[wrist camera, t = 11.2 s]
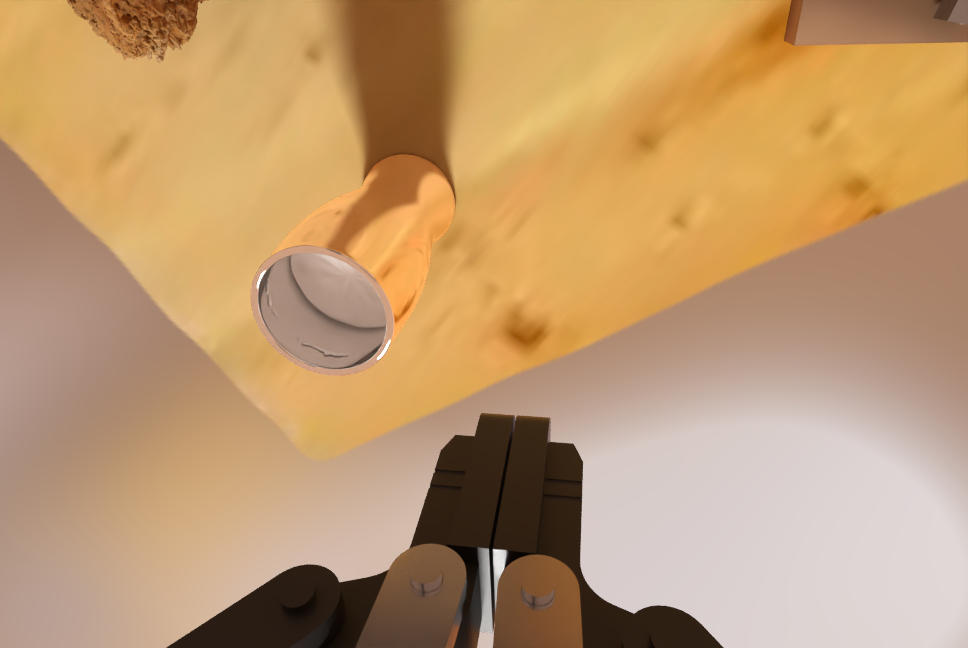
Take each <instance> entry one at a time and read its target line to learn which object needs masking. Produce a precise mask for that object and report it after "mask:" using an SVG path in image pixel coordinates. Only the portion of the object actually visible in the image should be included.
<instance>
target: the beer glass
mask: <svg viewBox="0 0 968 648" xmlns="http://www.w3.org/2000/svg"><path fill="white" fill-rule="evenodd" d="M454 212H455V199H454V193H453V190H452V187H451V185H450V183H449V181H448V179H447V178H446V176H445V175H444V174H443V173H442V171H441V170H440V169H439V168H437V167H436V166H435V165H434V164H432V163H431V162H429V161H428V160H426V159H424V158H421V157H418V156H414V155H408V154H400V155H394V156H390V157H387V158H385V159H383V160H381V161H380V162H378V163H377V164H376V165H375V166H374V167H373V168H372V169H371V170H370V171H369V173H368V174H367V176H366V178H365V180H364V182H363V185H362V187H361V188H359V189H357V190H354V191H351V192H349V193H346V194H344V195H342V196H339V197H337V198H335V199H333V200H331V201H329V202H327V203H326V204H324V205H322V206H320V207H319V208H317V209H316V210H315V211H313V212H312V213H311V214H310V215H308V216H307V217H306V218H304V219H303V220H302V221H301V222H300V223H299V224H298V225H297V226H296V227H295V228H294V229H293V230H292V231H291V232H290V233H289V234H288V235H287V236H286V237H285V239H284V240H283V241H282V242H281V243H280V244H279V246H278V247H277V248H276V249H275V251H274V252H273V253H272V254H271V256H270V257H269V258H268V259H266V260H265V261H264V262H263V264H262V265H261V266H260V267H259V269H258V271H257V272H256V274H255V277H254V279H253V283H252V287H251V305H252V310H253V314H254V317H255V320H256V322H257V324H258V326H259V328H260V330H261V332H262V333H263V335H264V336H265V338H266V339H267V340H268V341H269V343H270V344H271V345H272V346H273V347H274V348H275V349H276V350H277V351H278V352H279V353H281V354H282V355H283V356H284V357H286V358H287V359H288V360H290V361H292V362H293V363H295V364H297V365H299V366H301V367H303V368H305V369H308V370H310V371H313V372H317V373H321V374H326V375H349V374H354V373H358V372H361V371H364V370H366V369H368V368H369V367H371V366H373V365H374V364H375V363H377V362H378V361H379V360H380V359H381V358H382V357H383V356H384V354H385V353H386V351H387V350H388V348H389V346H390V344H391V343H392V341H393V340H394V339H395V337H396V336H397V335H398V333H399V332H400V330H401V329H402V328H403V326H404V325H405V323H406V322H407V320H408V318H409V317H410V315H411V313H412V312H413V310H414V308H415V307H416V304H417V302H418V300H419V298H420V296H421V293H422V291H423V289H424V286H425V282H426V278H427V274H428V270H429V265H430V258H431V251H432V244H433V243H434V242H435V241H437V240H438V239H439V238H440V237H441V236H442V235H443V234H444V233H445V232H446V231H447V229H448V228H449V226H450V224H451V222H452V220H453V217H454Z"/></svg>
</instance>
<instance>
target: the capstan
mask: <svg viewBox="0 0 968 648" xmlns="http://www.w3.org/2000/svg"><path fill="white" fill-rule="evenodd" d="M933 18H934V19H939V20H945V21H950V22H955V23H961V24H966V25H968V0H942V1H941V3H940V5H939V7H938V9H937V11H936V13H935V15H934V17H933Z"/></svg>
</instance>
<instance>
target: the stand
mask: <svg viewBox="0 0 968 648" xmlns="http://www.w3.org/2000/svg"><path fill="white" fill-rule="evenodd" d="M941 1H942V0H792V2H791V7H790V13H789V18H788V23H787V29H786V34H785V39H784V41H786V42H788V43H790V44H792V45H794V46H797V45H847V44H898V43H948V42H968V25H966V24H961V23H955V22H950V21H945V20H939V19H934V18H933V17H934V15H935V13H936V11H937V9H938V7H939V5H940V3H941Z"/></svg>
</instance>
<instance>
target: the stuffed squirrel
mask: <svg viewBox="0 0 968 648" xmlns="http://www.w3.org/2000/svg"><path fill="white" fill-rule="evenodd" d="M203 1H204V0H67V2H68V3H69V4H70V6H73V7H72V8H73V9H74V12H75V13H76V14H77V16H79V17H80V18H83V19H84V20H89V24H90V25H91V26H93V31H94V32H95V34H96V35H97V36H102V37H103V38H104V39H107V43H110V45H112V46H113V47H114V49H115V51H116V52H117V53H122V56H123V59H124V60H126V58H127V57H128V58H130V57H132V58H133V59H136V60H137V57H141V58H142V57H144V56H146V55H147V57H148V59H149V60H151V59H152V57H151V56H152V53H153V54H154V55H155V57H156V60H157V62H158V63H161V62H162V61H163V60H164V54H165V51H166V49H167V45H168V46H169V47H170V48H172V49H173V50H174V48H175V47H177V48H179V49H181V47H180V45H183V44H185V43H186V42H188V41H189V39H190V36H192V34H193V32H194V29H195V25H196V24H197V19H196V15H197V10H198V2H200V3H201V4H202V2H203Z"/></svg>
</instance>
